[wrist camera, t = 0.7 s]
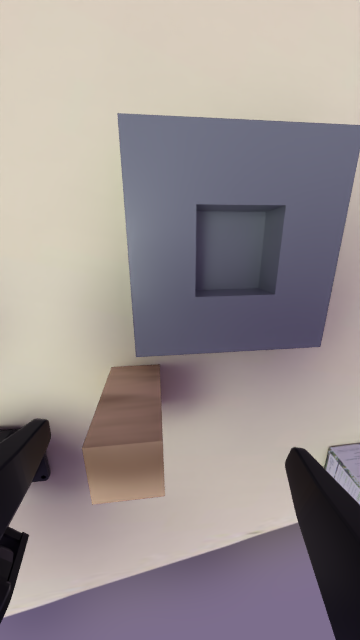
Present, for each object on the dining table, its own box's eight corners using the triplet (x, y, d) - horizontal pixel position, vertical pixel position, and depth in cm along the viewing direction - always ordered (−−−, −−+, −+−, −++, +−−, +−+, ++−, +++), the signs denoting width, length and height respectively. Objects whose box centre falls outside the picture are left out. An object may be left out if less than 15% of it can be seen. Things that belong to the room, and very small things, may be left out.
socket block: (294, 331, 22) (320, 346, 18) (139, 338, 20) (136, 357, 17) (323, 149, 17) (364, 125, 14) (125, 142, 16) (117, 113, 12)
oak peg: (161, 403, 23) (164, 495, 14) (116, 407, 22) (92, 504, 14) (159, 364, 21) (162, 440, 13) (111, 367, 21) (81, 448, 13)
